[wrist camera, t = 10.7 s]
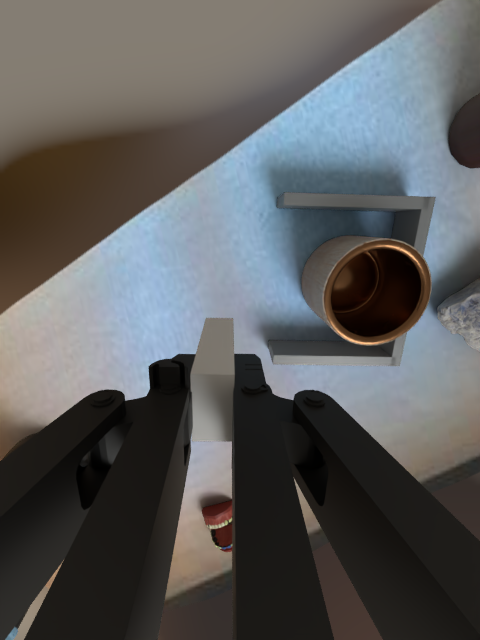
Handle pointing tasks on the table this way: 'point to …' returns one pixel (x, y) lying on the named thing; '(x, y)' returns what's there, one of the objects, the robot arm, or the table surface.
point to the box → (406, 228)
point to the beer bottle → (467, 134)
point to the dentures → (220, 524)
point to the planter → (367, 287)
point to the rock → (463, 314)
